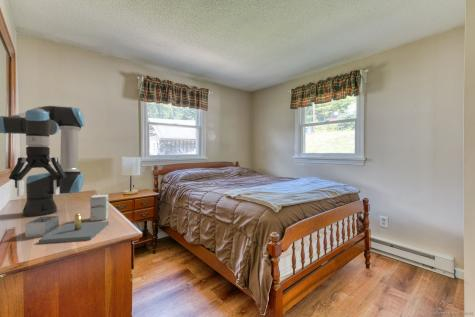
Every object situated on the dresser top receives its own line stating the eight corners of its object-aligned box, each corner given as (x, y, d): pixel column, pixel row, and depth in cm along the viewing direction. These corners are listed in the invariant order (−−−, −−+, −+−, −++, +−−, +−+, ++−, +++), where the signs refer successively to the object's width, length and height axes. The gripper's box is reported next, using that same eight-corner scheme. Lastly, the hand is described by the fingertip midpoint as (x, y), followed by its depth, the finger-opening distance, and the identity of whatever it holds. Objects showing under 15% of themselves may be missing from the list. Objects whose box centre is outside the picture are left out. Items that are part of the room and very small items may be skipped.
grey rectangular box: (41, 229, 101) (41, 216, 100) (58, 228, 102) (58, 215, 102) (25, 237, 91) (25, 223, 91) (44, 236, 92) (44, 222, 92)
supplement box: (89, 221, 113) (89, 197, 112) (93, 217, 119) (93, 194, 119) (106, 220, 115) (106, 196, 115) (108, 216, 122) (108, 193, 122)
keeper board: (67, 226, 104) (67, 223, 104) (108, 224, 108) (108, 221, 108) (38, 243, 85) (38, 239, 85) (90, 239, 89) (90, 236, 89)
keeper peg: (76, 228, 97) (76, 212, 97) (82, 228, 98) (82, 212, 98) (73, 230, 95) (73, 214, 95) (79, 230, 96) (79, 213, 95)
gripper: (-4, 145, 88) (-3, 197, 89) (65, 146, 93) (66, 195, 94) (11, 146, 96) (12, 194, 96) (75, 146, 101) (75, 192, 101)
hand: (39, 195), depth 95 cm, fingers open, 13 cm apart
